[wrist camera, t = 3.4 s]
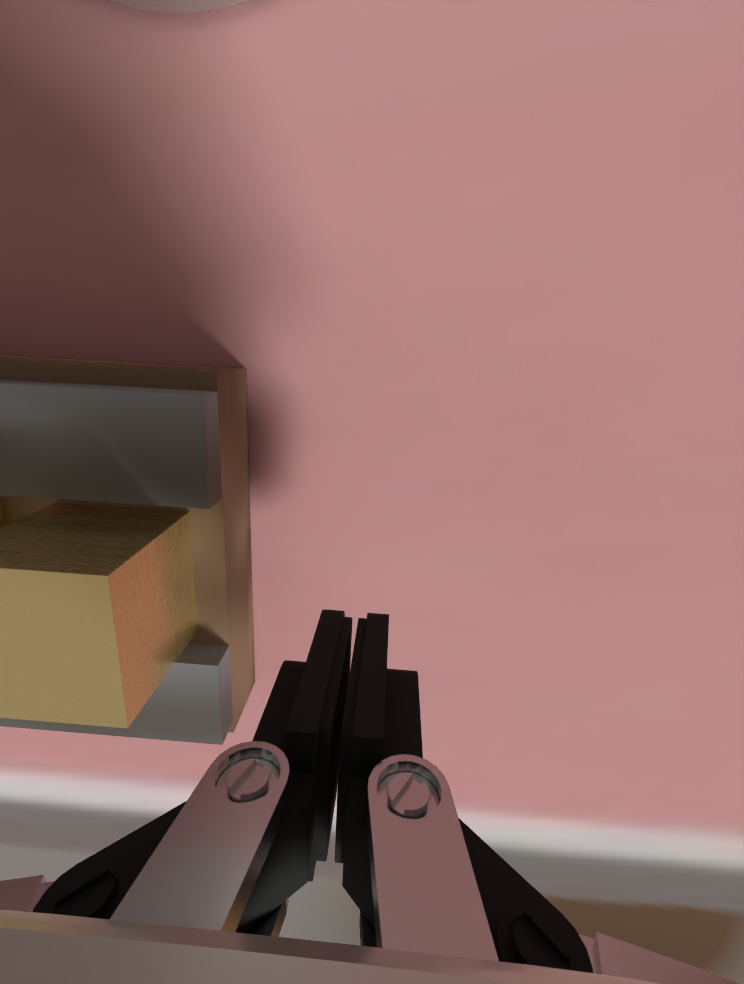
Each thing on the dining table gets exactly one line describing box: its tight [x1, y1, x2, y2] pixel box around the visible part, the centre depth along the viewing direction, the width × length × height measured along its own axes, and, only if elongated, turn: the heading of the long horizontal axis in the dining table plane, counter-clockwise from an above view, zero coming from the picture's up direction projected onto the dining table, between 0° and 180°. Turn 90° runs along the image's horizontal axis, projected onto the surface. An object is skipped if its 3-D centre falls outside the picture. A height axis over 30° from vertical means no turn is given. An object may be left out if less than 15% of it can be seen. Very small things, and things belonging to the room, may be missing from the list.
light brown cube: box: [0, 503, 198, 728], centre depth 12 cm, size 4×4×4 cm
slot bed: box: [0, 355, 255, 745], centre depth 15 cm, size 12×13×4 cm
